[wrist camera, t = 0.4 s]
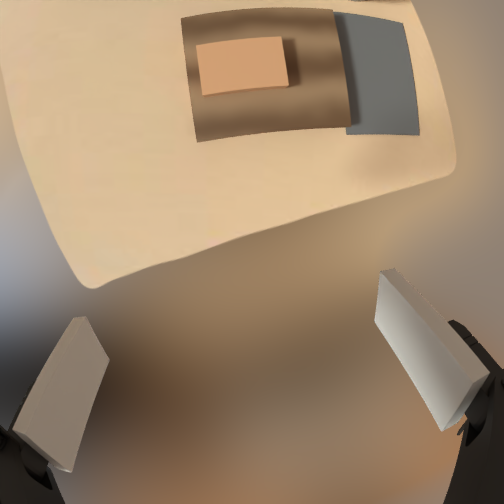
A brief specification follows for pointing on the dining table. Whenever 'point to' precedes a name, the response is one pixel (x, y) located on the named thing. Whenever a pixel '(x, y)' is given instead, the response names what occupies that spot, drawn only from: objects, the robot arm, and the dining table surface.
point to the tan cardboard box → (242, 66)
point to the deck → (297, 64)
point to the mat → (377, 75)
